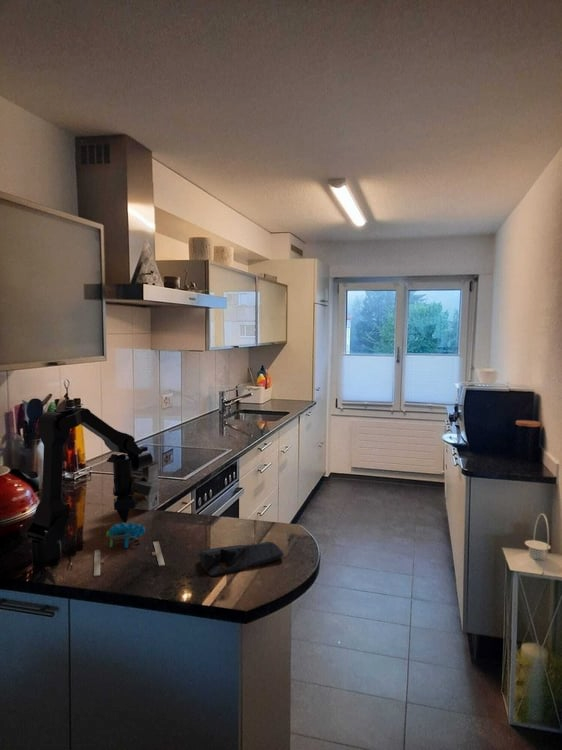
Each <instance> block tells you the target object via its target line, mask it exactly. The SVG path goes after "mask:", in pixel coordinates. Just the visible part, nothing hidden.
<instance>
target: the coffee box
mask: <svg viewBox="0 0 562 750" xmlns="http://www.w3.org/2000/svg"><path fill="white" fill-rule="evenodd" d="M132 473H133V478H134V479H135V480H137V479H138V480H139V479H140V478H141V477H142V476H143V477H146V479H147V482H150V483H151V485H152V487H151V490H150V493H149V496H145V495H144V494H140V493H136V492H135V495H131V496H133V497H134V498H135V501H136V507H135V508H132V509H134V510H143V511H147V512H149V511H151V510H153V509H155V508H156V507H158V506H160V499H159V497H160V496H159V493H160V492H159V461H155V460H153V462H152V464H151V465H150V466H148V467H145V468H142V469H139V470H132Z"/></svg>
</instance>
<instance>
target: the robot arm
mask: <svg viewBox="0 0 562 750" xmlns="http://www.w3.org/2000/svg"><path fill="white" fill-rule="evenodd" d="M36 424H37V431H38V432H37V433H38V436H39V439H40V441H41V443H42V445H43V453H42V454H43V459H42V461H43V462H42V463H43V464H42V486H41V487H42V488H41V499H40V501H39V503H38V504H37V506H36V508H35V513H34V518H33V520H32V522H30V523H31V524H30V525H29V526H28V528H26V530H25V532H24V534H25V536H26V538H27V539H28V540H31V556H32V557H31V559H32V561H31V562H32V563H31V568H36V567H37V568H38V567H43V566H44V567H45V566H51V565H57V564H59V562H60V559H61V557H62V542H61V540H62V539H64V534H65V530H66V527H67V526H68V523H69V522H68V520H70V519H71V517H70V510H71V509H70V508H71V506H70V503H68V502H64V500H63V496H62V495H63V494H62V493H63V469H64V468H63V467H64V464H63V463H64V448H65V447H64V446H65V443H67V440H68V438H69V437H70V434H71V429H73V428H77V427H78V426H80V425H81V426H82V427H84V428H85V429H87V430H88V431H90V433H93V434H94V435H96V437H99V438H100V439H101V440H102V441H103V442H104V445H105V447H107V448H108V449H109V451H111V452H113V453H112V454H111V455H110V457H108V458H107V459H106V462H107V463H111V464H112V469H113V470H112V471H113V472H112V473H113V475H112V476H113V478H112V479H113V487H112V495H113V497H115V498H114V499H113V510H114V511H116V512H117V514H118V515H119V518H120V519H121V523H122V522H124V523H125V524H126V523H127V522H128V517H129V513H130V509H133V508H135V507H136V501H135V498H134V497H133V496H131V495H135V492H136V493H140V494H144V495H145V496H149V493H150V490H151V487H152V485H151V483H150V482H147V479H146V477H143V476H142V477H141V478H140V479H139V480H138V479H137V480H135V479H134V478H133V473H132V470H139V469H142V468H145V467H148V466H150V465H151V464H152V462H153V461H154V458H153V456H152V453H151V452H150V451H149V449H148V446H144V445H143V446H138V444H137V443H136V441H135V440H136V439H135V438H134V436H133V435H132V434H129V433H127V432H124V431H121V430H118V429H115V428H114V427H112V426H111V425H109V424H108V423H107V422H105V420H103V419H101V418H100V417H98V416H97V415H95V414H94V413H93V412H92V411H91V410H90V409H89V408H87V407H78V406H77V407H76V406H75V407H73V408H70V409H66V410H61V411H55V412H54V411H51V412H50V411H46V412H44V413H42V414H41V415H40V416H39V417H38V419H37V423H36ZM117 453H119V454H117Z"/></svg>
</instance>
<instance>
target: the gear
mask: <svg viewBox="0 0 562 750" xmlns="http://www.w3.org/2000/svg"><path fill="white" fill-rule="evenodd" d="M112 526H113V527H109V530H107V531H106V532H105V533H106V534H105V537H107V538H108V540H109V548H111V547H112V548H113V545H114V540H115V541H116V540H124V546H123V548H125V549H127V548H129V540H133V539H135V538H136V537H137V538H141V537H142V535H145V534H146V532H145V531H146V526H144V525H143V526H142V524H141V523H136V524H135V525H134V522H133V521H130V522H128V524H126V523H124V522H122V521H121V522H120V524H117V523H114V524H113V525H112Z"/></svg>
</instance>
